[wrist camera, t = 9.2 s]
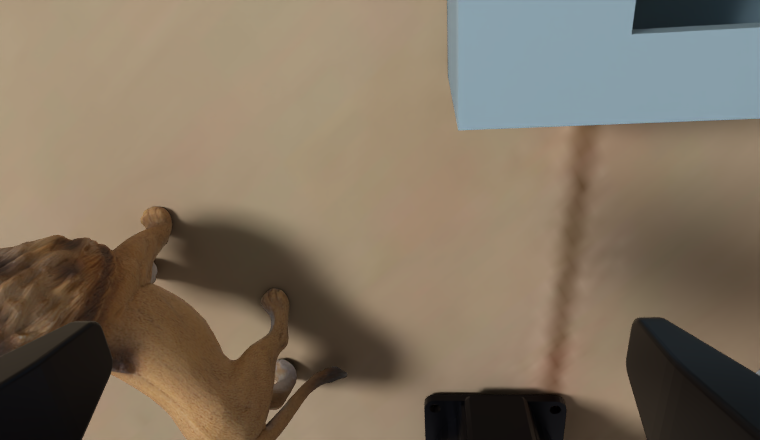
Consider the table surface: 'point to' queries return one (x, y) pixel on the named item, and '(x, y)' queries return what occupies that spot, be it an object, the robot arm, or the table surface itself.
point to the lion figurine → (153, 332)
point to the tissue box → (602, 61)
